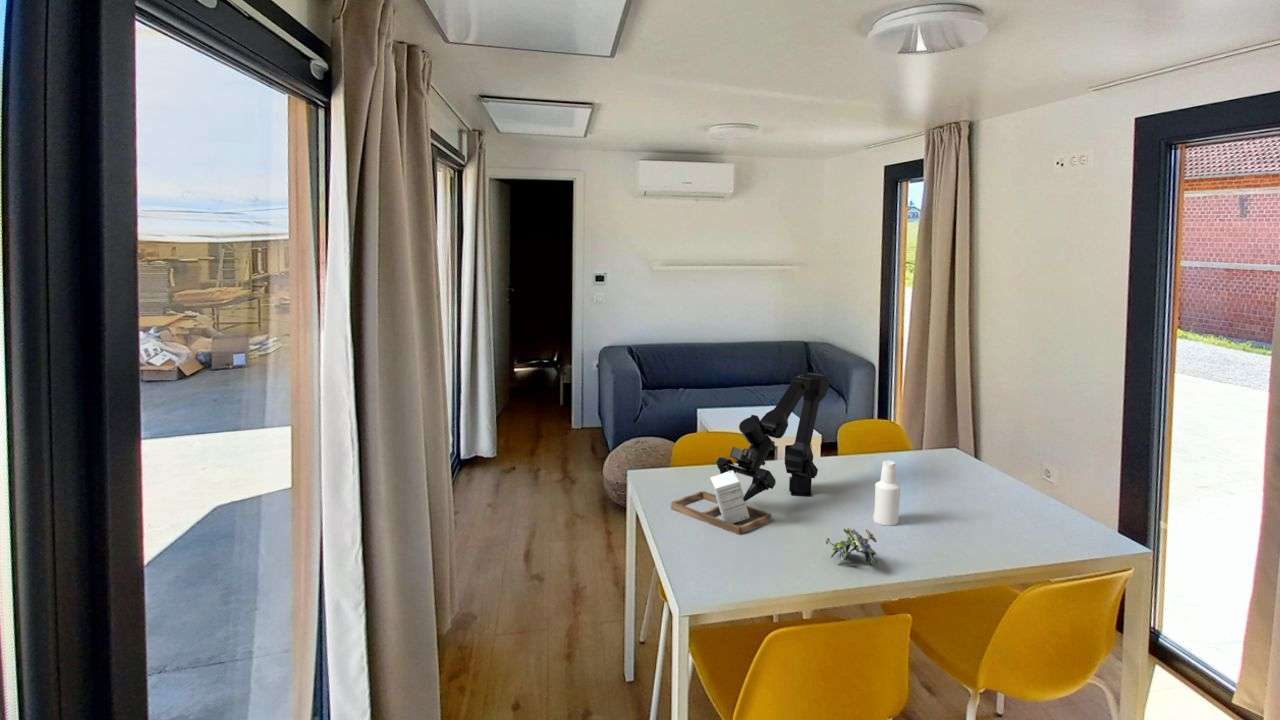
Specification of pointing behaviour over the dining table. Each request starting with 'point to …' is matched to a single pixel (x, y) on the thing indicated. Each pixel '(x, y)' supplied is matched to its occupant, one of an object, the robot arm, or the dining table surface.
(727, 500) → the supplement box
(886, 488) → the spray bottle
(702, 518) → the wooden compartment frame
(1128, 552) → the dining table surface
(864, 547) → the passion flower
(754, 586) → the dining table surface
